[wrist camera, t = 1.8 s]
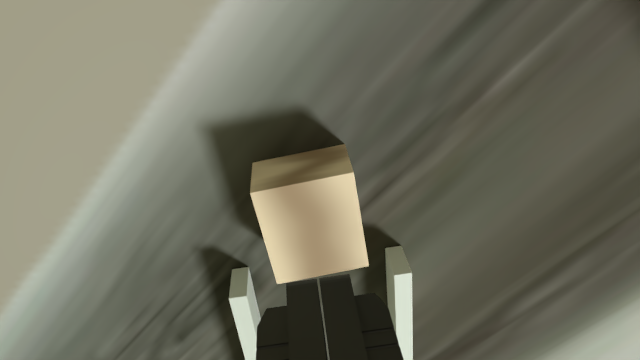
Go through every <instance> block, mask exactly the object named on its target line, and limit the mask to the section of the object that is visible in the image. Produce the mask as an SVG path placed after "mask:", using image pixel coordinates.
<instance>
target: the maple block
mask: <svg viewBox="0 0 640 360" xmlns="http://www.w3.org/2000/svg"><path fill="white" fill-rule="evenodd" d="M250 195H251V198H252V201H253V205H254V208H255V211H256V215H257V218H258V221H259V225H260V228H261V231H262V235H263V238H264V241H265V245H266V248H267V251H268V255H269V258H270V261H271V265H272V268H273V271H274V275H275V278H276V281H277V284H281V283H286V282H291V281H296V280H301V279H306V278H311V277H317V276H322V275H327V274H332V273H337V272H342V271H347V270H352V269H357V268H362V267H367V266H369V263H368V257H367V251H366V244H365V238H364V232H363V226H362V220H361V214H360V208H359V202H358V196H357V190H356V184H355V178H354V172H353V169H352V166H351V162H350V159H349V156H348V153H347V150H346V146H345V144H343V145H338V146H333V147H328V148H323V149H318V150H313V151H308V152H303V153H298V154H293V155H288V156H283V157H278V158H273V159H268V160H263V161H258V162H253V163H252V175H251V187H250Z"/></svg>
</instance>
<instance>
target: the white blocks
mask: <svg viewBox="0 0 640 360" xmlns="http://www.w3.org/2000/svg"><path fill="white" fill-rule="evenodd" d="M385 257H386V280H387V302H388V309H389V312H390V315H391V319H392V322H393V325H394V330H395V332H396V336H397V339H398V342H399V347H400V349H401V352H402V356H403V359H404V360H413V335H412V272H411V269H410V267H409V264H408V262H407V259H406V256H405V254H404V251H403V249H402V246H396V247H389V248H385ZM229 301H230V305H231V309H232V313H233V316H234V320H235V324H236V327H237V331H238V335H239V338H240V342H241V346H242V349H243V353H244V357H245V360H256V351H257V348H256V341H257V326H258V324H259V322H260V320H261V318H260V314H259V310H258V305H257V301H256V297H255V292H254V288H253V284H252V279H251V275H250V271H249V267H245V268H237V269H232V274H231V283H230V292H229Z"/></svg>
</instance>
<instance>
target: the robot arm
mask: <svg viewBox="0 0 640 360" xmlns="http://www.w3.org/2000/svg"><path fill="white" fill-rule="evenodd" d="M319 280H320V288H321V295H322V303H323V311H324V318H325V326H326V334H327V341H328V349H329V357H330V360H404V359H403V356H402V352H401V349H400V347H399V342H398V339H397V336H396V332H395V330H394V325H393V322H392V319H391V315H390V312H389V309H388V307H387V306H386V305H385V304H384V303H383V302H382V301H381V299H380V298H379V297H378V296H377V295H376V294H375V293H372V294H365V295H358V296H354V293H353V289H352V284H351V279H350V275H349V274H345V275H338V276H331V277H324V278H319ZM286 292H287V306H281V307H274V308H267V309H266V311H265V313H264V315H263V316H262V318H261V320H260V322H259V324H258V326H257V341H256V348H257V351H256V360H328V359H327V351H326V343H325V335H324V328H323V321H322V314H321V307H320V300H319V293H318V285H317V279H311V280H304V281H297V282H290V283H286Z"/></svg>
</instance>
